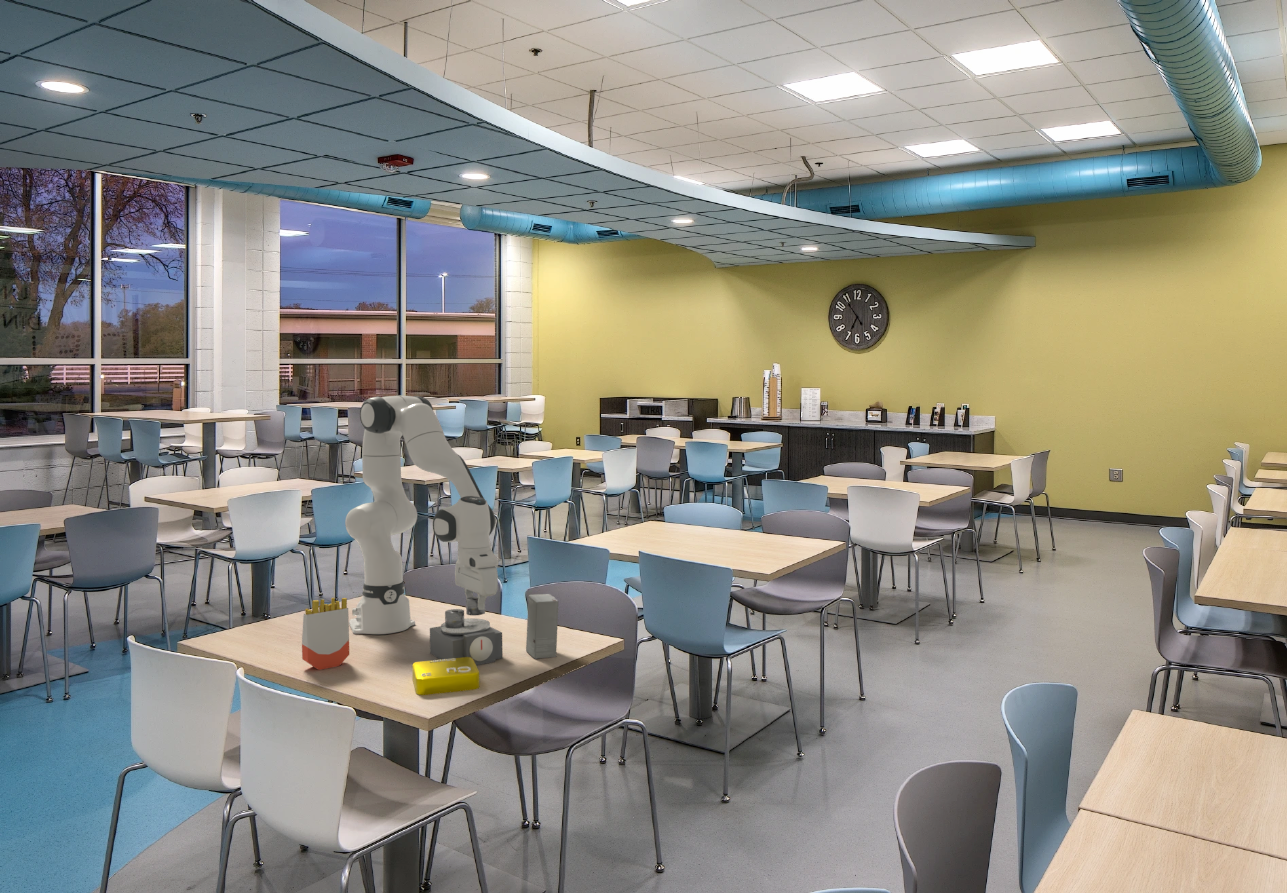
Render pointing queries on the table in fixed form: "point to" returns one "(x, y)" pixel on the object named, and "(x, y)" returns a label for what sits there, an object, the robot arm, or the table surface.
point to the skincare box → (542, 626)
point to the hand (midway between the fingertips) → (475, 607)
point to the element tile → (445, 676)
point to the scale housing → (467, 645)
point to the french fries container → (326, 634)
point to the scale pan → (468, 627)
